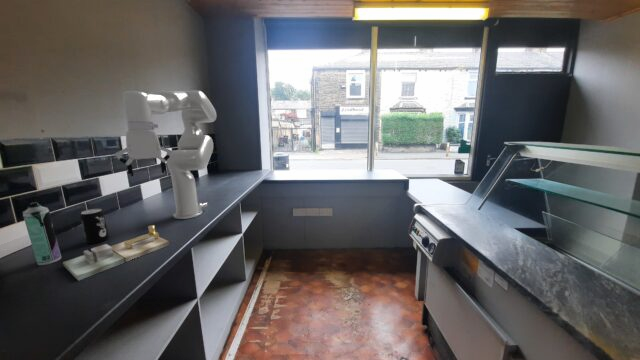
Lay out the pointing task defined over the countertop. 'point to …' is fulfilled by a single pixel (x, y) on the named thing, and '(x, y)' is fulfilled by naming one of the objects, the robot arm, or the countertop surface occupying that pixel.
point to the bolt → (143, 237)
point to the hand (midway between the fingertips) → (148, 174)
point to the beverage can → (94, 226)
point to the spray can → (41, 234)
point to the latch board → (110, 256)
